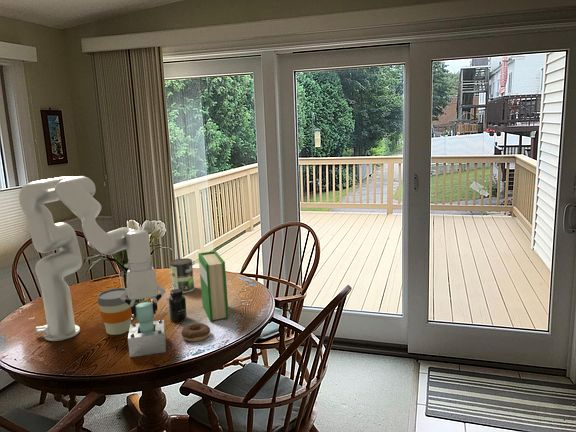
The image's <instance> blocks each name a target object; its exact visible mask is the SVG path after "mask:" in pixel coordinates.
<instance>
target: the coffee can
mask: <svg viewBox="0 0 576 432" xmlns="http://www.w3.org/2000/svg"><path fill="white" fill-rule="evenodd" d="M169 265H170V276H171V285H172V290H174V289H181V290H182V292H183V294H186V293H190V292H193V291H194V290H195V282H194V270H193V269H194V268H193V259H192V258H188V257H187V258H185V257H184V258H177V259H174V260H171V261H170V262H169Z"/></svg>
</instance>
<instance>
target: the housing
mask: <svg viewBox="0 0 576 432" xmlns="http://www.w3.org/2000/svg"><path fill="white" fill-rule="evenodd" d="M153 324H154V331H153V332H145V333H140V326H139V322H138V323H136V322H133V323H131V324H130V329H129V331H128V335H127V336H128V337H127V344H128V352H129V358H134V357H135V358H136V357H141V356H142V357H143V356H149V355H153V354H154V355H155V354H161V353H162V354H163V353H166V352H167V334H166V326H165V319H158V320H153Z"/></svg>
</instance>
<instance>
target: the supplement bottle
mask: <svg viewBox="0 0 576 432" xmlns="http://www.w3.org/2000/svg"><path fill="white" fill-rule="evenodd" d="M169 296H170V297H169V298H168V311H169V312H168V313H169V319H170V321H171V322H182V321H185V320H186V319H187V317H188V316H187V315H188V313H187V301H186V300H187V299H186V297H185V296H184V293H183V292H182V290H181V289H174V290H173V289H171V290H170V295H169Z"/></svg>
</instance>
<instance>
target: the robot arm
mask: <svg viewBox="0 0 576 432" xmlns="http://www.w3.org/2000/svg"><path fill="white" fill-rule="evenodd" d="M95 193H96V184H95V182H94V181H93V180H92V179H91V178H89V177H86V176H85V175H79V176H59V177H58V176H57V177H54V178H52V177H51V178H47V179H40V180H34V181H31V182H29V183H27V184H25V185H23V186H22V188H21V189H20V190H19V194H18V201H19V205H20V207H21V210H22V211H23V214H24V216H25V219H26V222H27V227H28V230H29V233H30V237H31V241H32V245H33V247H34V249H35V250H36V252H38V253H40V254H46V253H50V252H52V251H56V250H58V251H57V252H55V253H51V254H49V255H46V256H45V257H42V258H41V259H39V260H38V261H37V262H36V264H35V267H34V268H35V269H34V271H35V274H36V277H37V280H38V283H39V286H40V289H41V296H42V301H43V302H42V303H43V308H44V314H45V319H46V320H45V321H46V324H45V325H39V326H35V332H37V334H42V333H44V334H43V336H44V337H43V338H44V339H45V340H46V341H51V342H58V341H59V342H60V341H65V340H68V339H71V338H73V337H75V336H77V335H78V334H79V333H80V332H81V327H80V326H79V325H77V324H76V323H75V316H74V310H73V302H72V295H71V290H70V286H69V285H68V283H67V282H66V281H65V279H64V278H65V277H66V276H68V275H71V274H74V273H76V272H77V271H79V270H80V269H81V267H82V265H83V259H82V258H83V257H82V253H81V250H80V245H79V242H78V237H77V233H76V231H75V229H74V227H72V226H71V224H69V223H67V222H63V221H62V222H60V221H59V222H56V223H55V221H54V218H53V214H52V211H50V209H49V208H48V207H47V206H45V204H48V203H53V202H57V201H61V202H62V204H64V206H66V207H67V208H68V209H69V211H71V212H72V213H73V214H74V215H75V216H76V217H77V218H78V219H79V220H81V228H82V233H83V235H84V237H85V239H86V241H87V242H88V243H89V244H90V245H91V246H92V247H94V249H96V250H97V251H98V252H99V253H101V254H103V255H105V256H106V255H107V256H111V255H114V254H117V253H118V252H121V251H124V250H126V252H127V263H124V269H128V270H127V272H126V287H125V288H126V289H125V291H124V292H123V293H122V294H121V295H120V299H121V300H123V301H125V302H126V303H127V304H128V305H130V306H131V312H132V315H133V317H134V318H136V310H135V306H136V303H135V302H136V300H143V299H144V300H145V299H150V298H151V299H152V302H151V303H153V311H154V315H156V314H157V311H158V302H159V300H161V298H162V297H163V296H164V294H165V293H166V289H165V288H163V286H161V285H160V284H158V279H157V275H156V270H155V268H154V267H153V266H152V265H153V264H152V257H151V256H152V255H151V245H150V244H151V243H150V236H149V235H150V234H149V231H147V230H146V229H133V228H131V227H126V226H125V227H118V228H117V229H114V230H113V229H112V230H111V231H108V232H106V231H105V230H104V229H103V228H102V227H100V225H99V224H98V222H97V221H96V218H97V217H98V216H99V215H100V212H101V211H102V205H101V203H100V202H99V201H98V200H97V199H95V198H94V197H93V196H94V195H95ZM159 291H160V292H159ZM127 294H128V298H129V299H128V298H126V297H125V296H126V295H127Z"/></svg>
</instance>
